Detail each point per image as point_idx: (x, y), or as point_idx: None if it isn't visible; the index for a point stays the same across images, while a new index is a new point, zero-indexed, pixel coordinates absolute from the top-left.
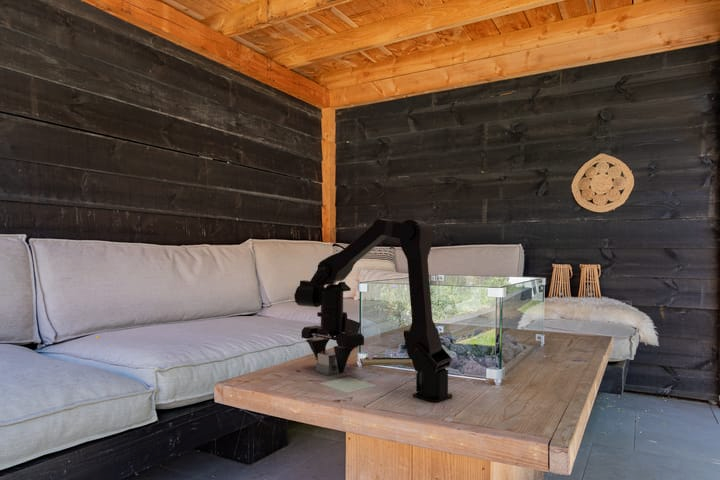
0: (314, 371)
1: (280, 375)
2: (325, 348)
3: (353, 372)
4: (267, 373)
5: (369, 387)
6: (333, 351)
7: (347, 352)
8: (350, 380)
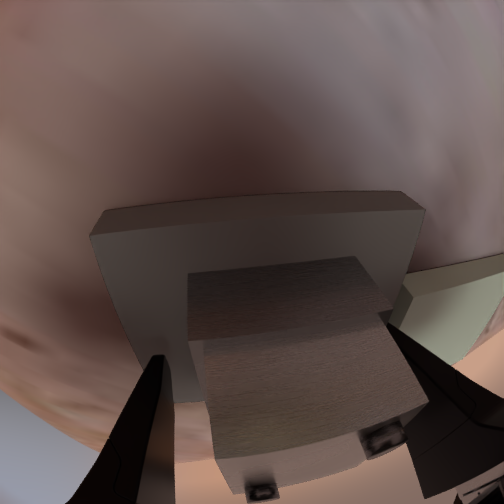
0: (177, 380)
1: (83, 404)
2: (140, 489)
3: (392, 213)
4: (47, 408)
5: (502, 296)
6: (275, 464)
7: (481, 414)
8: (441, 315)
